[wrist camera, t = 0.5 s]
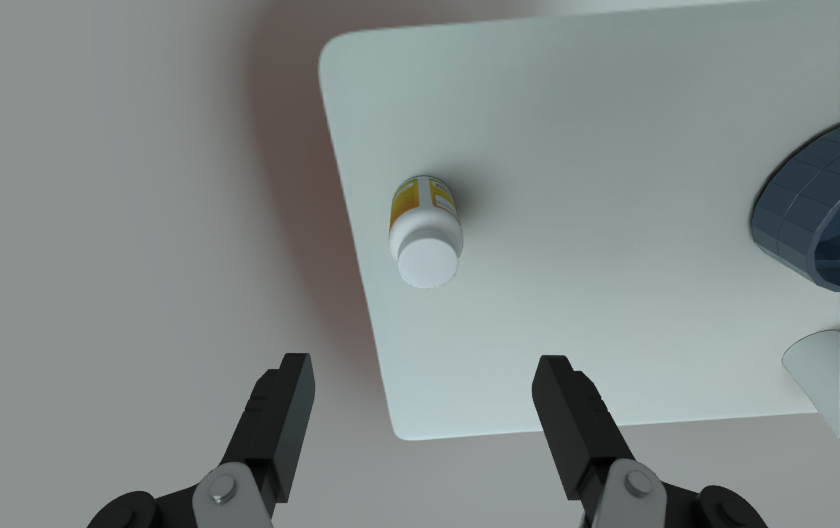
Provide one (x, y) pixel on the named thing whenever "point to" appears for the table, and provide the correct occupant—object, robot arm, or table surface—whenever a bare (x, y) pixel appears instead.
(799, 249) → the bowl
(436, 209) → the supplement bottle
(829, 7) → the table surface
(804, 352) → the cup
